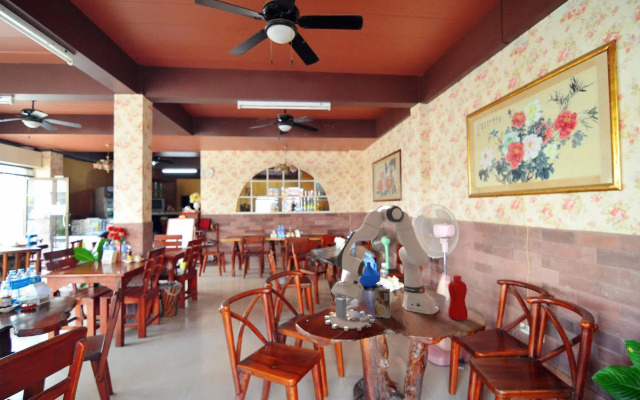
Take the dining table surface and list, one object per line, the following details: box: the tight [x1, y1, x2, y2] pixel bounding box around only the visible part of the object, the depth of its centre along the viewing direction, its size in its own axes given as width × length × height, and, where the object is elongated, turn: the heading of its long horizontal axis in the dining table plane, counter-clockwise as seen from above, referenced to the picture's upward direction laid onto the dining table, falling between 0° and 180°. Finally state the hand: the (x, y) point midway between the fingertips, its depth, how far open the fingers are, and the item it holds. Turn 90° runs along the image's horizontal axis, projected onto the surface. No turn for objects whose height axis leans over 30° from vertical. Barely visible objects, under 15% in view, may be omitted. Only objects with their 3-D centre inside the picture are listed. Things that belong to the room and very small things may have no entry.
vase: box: [359, 261, 381, 288], centre depth 251 cm, size 18×18×19 cm
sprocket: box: [324, 309, 375, 332], centre depth 177 cm, size 29×29×2 cm
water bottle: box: [447, 274, 469, 322], centre depth 179 cm, size 9×11×25 cm
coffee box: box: [373, 287, 392, 319], centre depth 184 cm, size 9×6×16 cm
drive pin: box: [335, 296, 347, 317], centre depth 181 cm, size 4×4×10 cm
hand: (340, 302), depth 181 cm, fingers open, 7 cm apart
